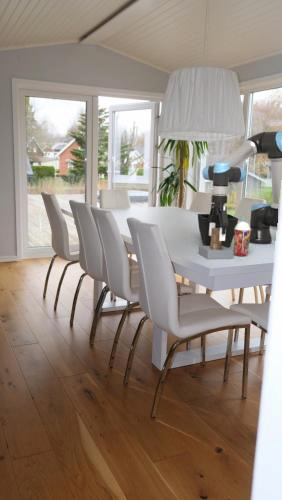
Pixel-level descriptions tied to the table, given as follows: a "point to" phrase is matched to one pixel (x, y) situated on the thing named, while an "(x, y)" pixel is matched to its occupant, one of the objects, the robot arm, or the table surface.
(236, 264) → the table surface
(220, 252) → the socket block
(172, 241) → the table surface
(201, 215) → the flower pot
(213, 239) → the peg
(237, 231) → the smoothie
